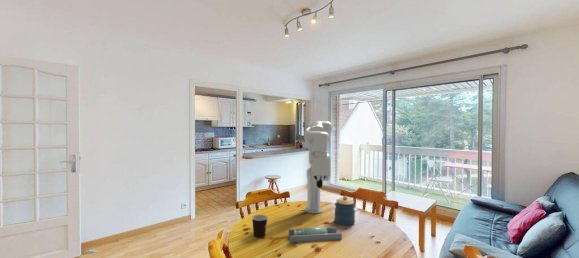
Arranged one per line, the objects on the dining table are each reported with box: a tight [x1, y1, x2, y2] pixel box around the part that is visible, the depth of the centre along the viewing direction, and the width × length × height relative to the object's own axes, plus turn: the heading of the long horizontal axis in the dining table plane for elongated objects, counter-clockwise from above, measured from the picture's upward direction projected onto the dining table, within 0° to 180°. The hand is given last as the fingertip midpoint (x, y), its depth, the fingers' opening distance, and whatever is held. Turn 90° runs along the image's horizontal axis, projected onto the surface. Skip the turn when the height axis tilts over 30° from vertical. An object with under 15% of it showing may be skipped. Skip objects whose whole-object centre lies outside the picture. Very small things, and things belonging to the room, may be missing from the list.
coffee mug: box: [251, 214, 268, 239], centre depth 135 cm, size 12×9×10 cm
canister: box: [333, 195, 356, 227], centre depth 153 cm, size 13×13×18 cm
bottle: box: [294, 226, 327, 235], centre depth 130 cm, size 5×5×18 cm
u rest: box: [288, 226, 343, 245], centre depth 131 cm, size 9×28×4 cm, turn 100°
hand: (319, 187), depth 131 cm, fingers closed
